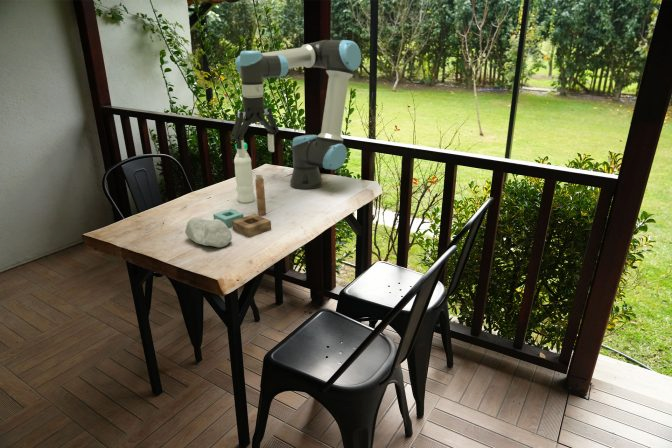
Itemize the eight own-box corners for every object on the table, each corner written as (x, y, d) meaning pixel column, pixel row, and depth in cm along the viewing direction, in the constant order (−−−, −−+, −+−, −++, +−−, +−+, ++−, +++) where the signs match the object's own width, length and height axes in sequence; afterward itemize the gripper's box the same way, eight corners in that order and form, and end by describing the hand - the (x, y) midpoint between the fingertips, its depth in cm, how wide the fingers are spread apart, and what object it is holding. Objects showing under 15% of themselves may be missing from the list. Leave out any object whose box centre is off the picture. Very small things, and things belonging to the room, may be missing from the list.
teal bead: (232, 217, 183) (231, 208, 182) (244, 222, 178) (243, 213, 176) (214, 222, 178) (213, 214, 176) (225, 228, 173) (225, 219, 171)
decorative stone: (240, 233, 162) (224, 216, 154) (225, 257, 157) (209, 241, 150) (205, 227, 171) (188, 210, 163) (190, 249, 166) (173, 233, 159)
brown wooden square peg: (262, 212, 188) (260, 173, 182) (267, 214, 186) (265, 175, 180) (256, 214, 186) (253, 175, 180) (261, 216, 184) (258, 177, 177)
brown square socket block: (255, 222, 178) (254, 213, 176) (271, 229, 171) (270, 220, 170) (232, 229, 171) (231, 221, 170) (248, 237, 165) (248, 228, 163)
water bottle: (250, 203, 197) (246, 145, 187) (235, 202, 198) (229, 144, 189) (256, 198, 203) (252, 141, 194) (241, 197, 205) (236, 140, 195)
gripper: (229, 100, 157) (234, 162, 165) (286, 94, 174) (288, 150, 182) (217, 98, 162) (223, 158, 170) (274, 92, 179) (276, 147, 187)
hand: (257, 154), depth 176 cm, fingers open, 13 cm apart
